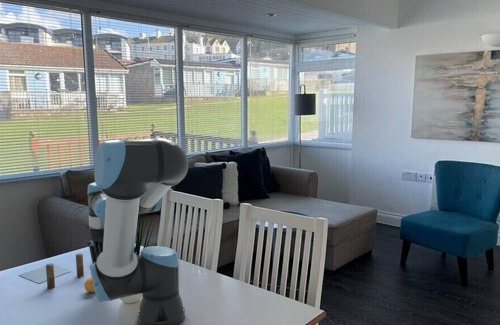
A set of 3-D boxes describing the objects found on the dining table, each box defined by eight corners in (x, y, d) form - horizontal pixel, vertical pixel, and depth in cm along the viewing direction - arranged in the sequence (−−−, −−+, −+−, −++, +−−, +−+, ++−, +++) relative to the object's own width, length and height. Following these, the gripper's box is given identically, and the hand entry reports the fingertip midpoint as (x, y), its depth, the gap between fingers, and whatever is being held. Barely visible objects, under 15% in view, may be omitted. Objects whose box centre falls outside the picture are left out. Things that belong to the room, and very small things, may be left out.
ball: (103, 290, 152) (102, 276, 151) (90, 296, 148) (90, 281, 147) (94, 286, 155) (93, 273, 154) (81, 292, 150) (80, 278, 150)
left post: (56, 286, 155) (54, 264, 154) (49, 289, 153) (48, 266, 151) (52, 285, 156) (50, 262, 155) (45, 287, 154) (44, 265, 153)
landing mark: (71, 271, 169) (71, 271, 169) (38, 283, 157) (38, 283, 157) (51, 264, 177) (51, 263, 177) (18, 275, 165) (18, 275, 165)
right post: (85, 275, 165) (84, 254, 164) (79, 277, 163) (78, 256, 162) (81, 274, 167) (80, 252, 165) (75, 276, 165) (74, 254, 163)
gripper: (121, 226, 144) (123, 288, 148) (97, 219, 151) (100, 279, 155) (103, 232, 138) (106, 296, 142) (79, 224, 145) (83, 286, 149)
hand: (103, 287), depth 149 cm, fingers closed
